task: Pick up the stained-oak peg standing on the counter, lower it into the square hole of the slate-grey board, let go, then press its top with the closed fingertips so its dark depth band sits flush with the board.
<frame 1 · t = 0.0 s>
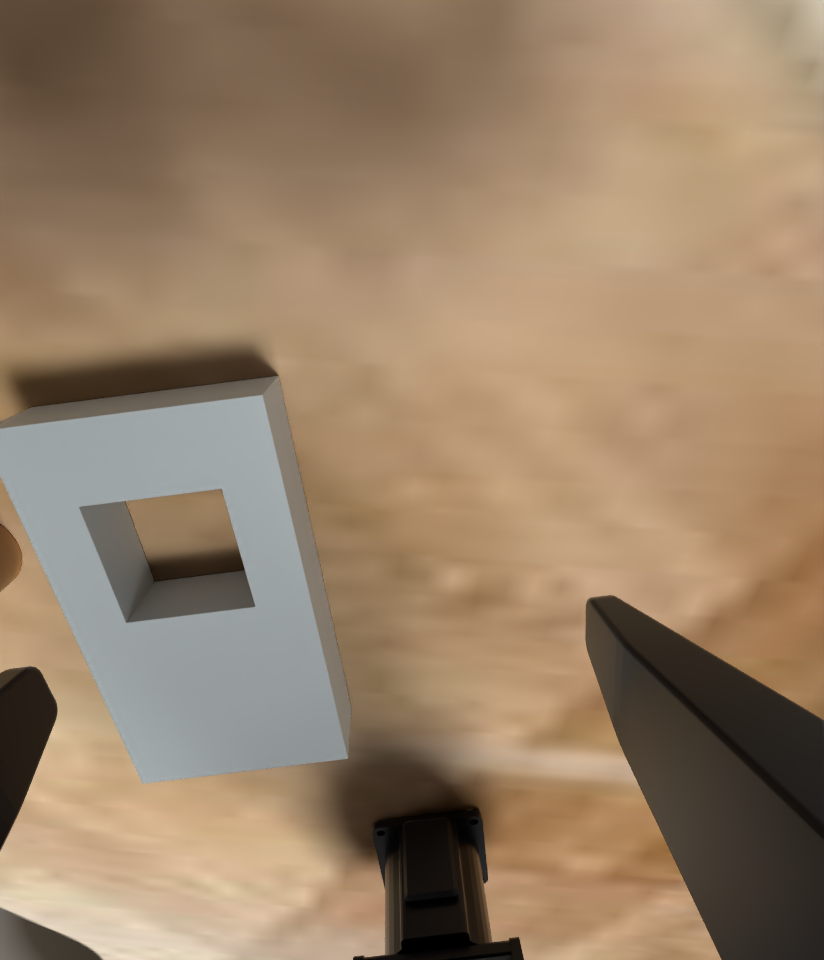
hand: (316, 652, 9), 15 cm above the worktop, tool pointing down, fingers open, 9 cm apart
board: (213, 579, 25), on the worktop
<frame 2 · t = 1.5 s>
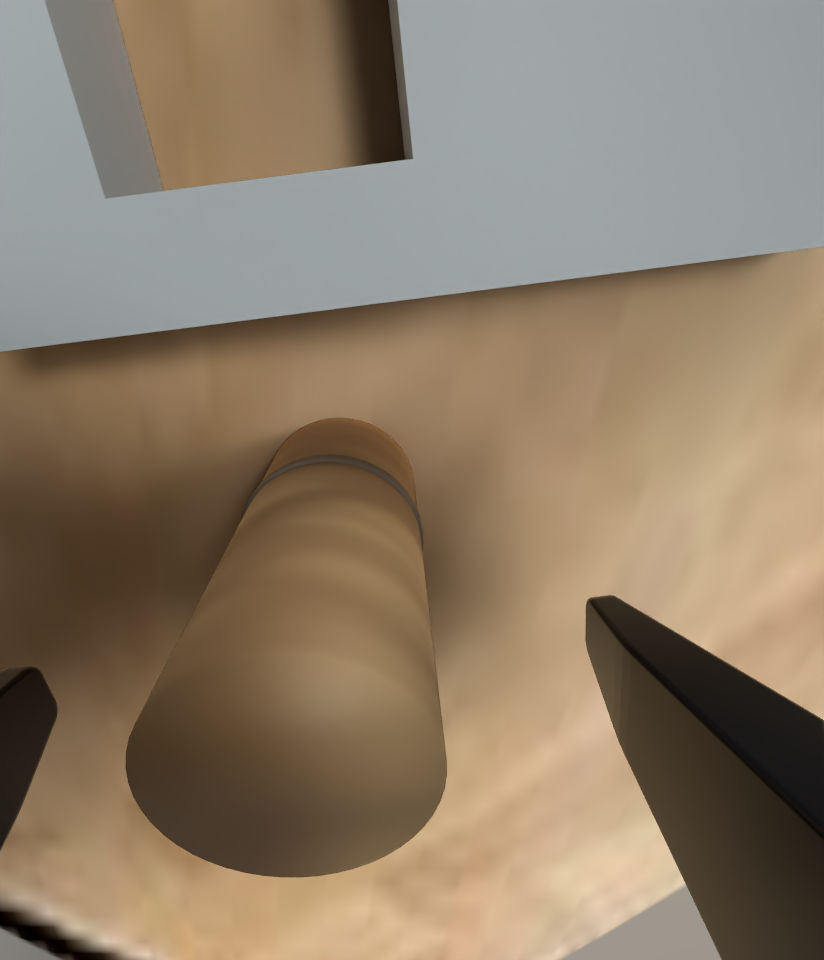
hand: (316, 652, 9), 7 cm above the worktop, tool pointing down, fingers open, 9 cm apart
board: (405, 26, 11), on the worktop
peg: (342, 487, 15), on the worktop
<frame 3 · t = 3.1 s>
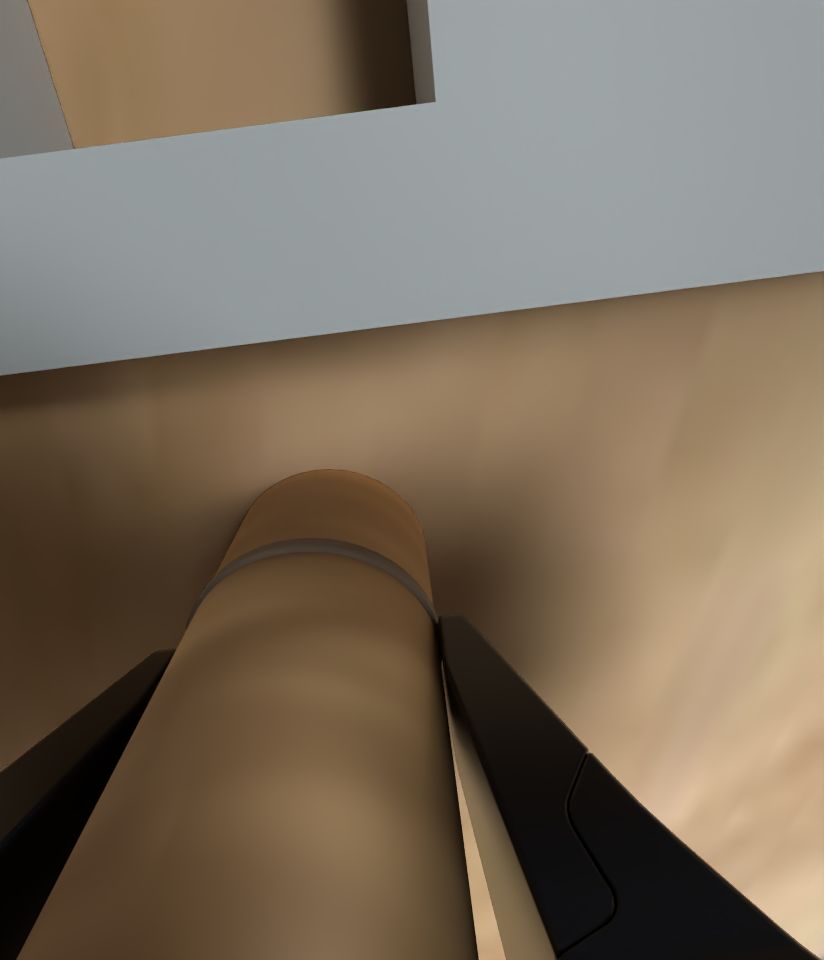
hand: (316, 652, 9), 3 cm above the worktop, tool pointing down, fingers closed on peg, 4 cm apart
peg: (332, 555, 12), on the worktop, touching gripper
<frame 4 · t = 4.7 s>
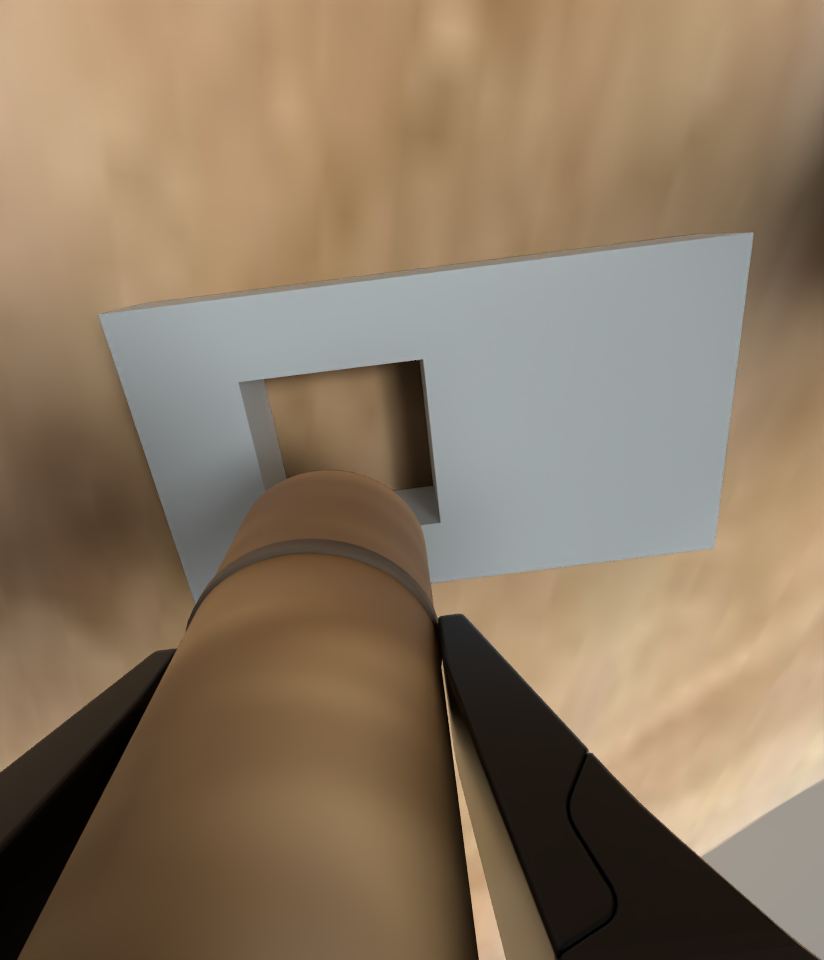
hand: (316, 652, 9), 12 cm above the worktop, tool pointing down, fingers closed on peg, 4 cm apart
board: (434, 416, 20), on the worktop
peg: (333, 556, 12), point 9 cm above the worktop, touching gripper
when the fingers open (4 cm above the worktop, at t = 6.3 s): peg drops 1 cm, resting in board.
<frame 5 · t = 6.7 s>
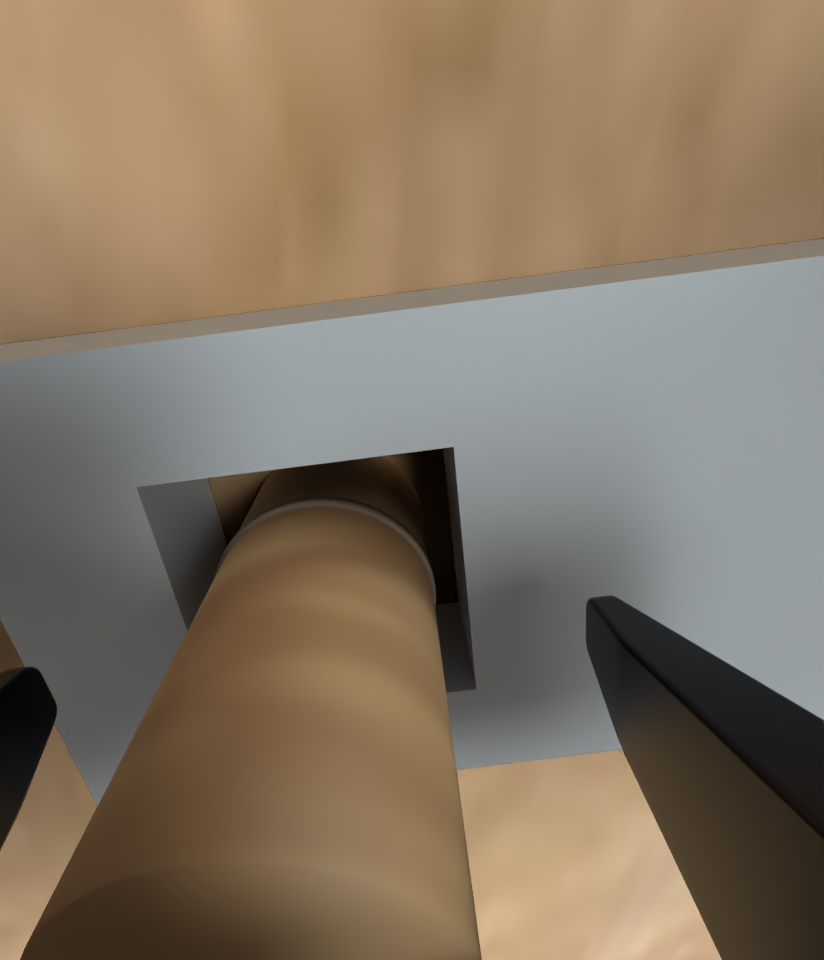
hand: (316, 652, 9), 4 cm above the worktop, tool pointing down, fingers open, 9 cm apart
board: (461, 507, 13), on the worktop
peg: (339, 523, 13), resting in board
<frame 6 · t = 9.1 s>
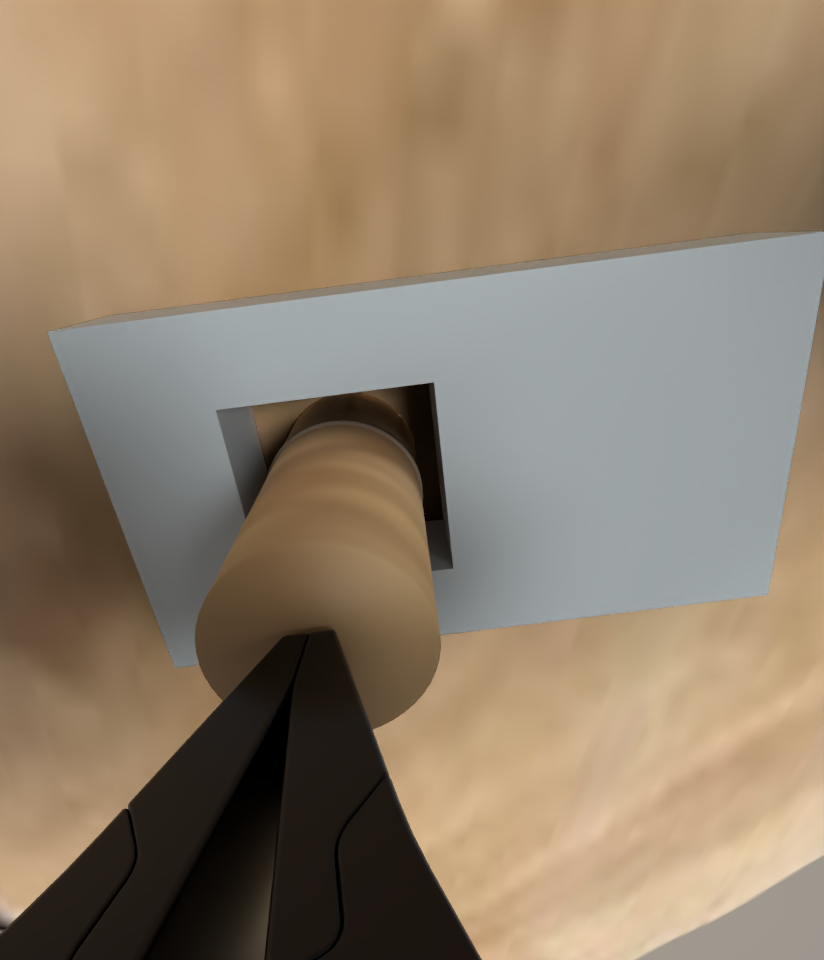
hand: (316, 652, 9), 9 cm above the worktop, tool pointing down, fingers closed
board: (444, 442, 17), on the worktop
peg: (351, 454, 17), resting in board
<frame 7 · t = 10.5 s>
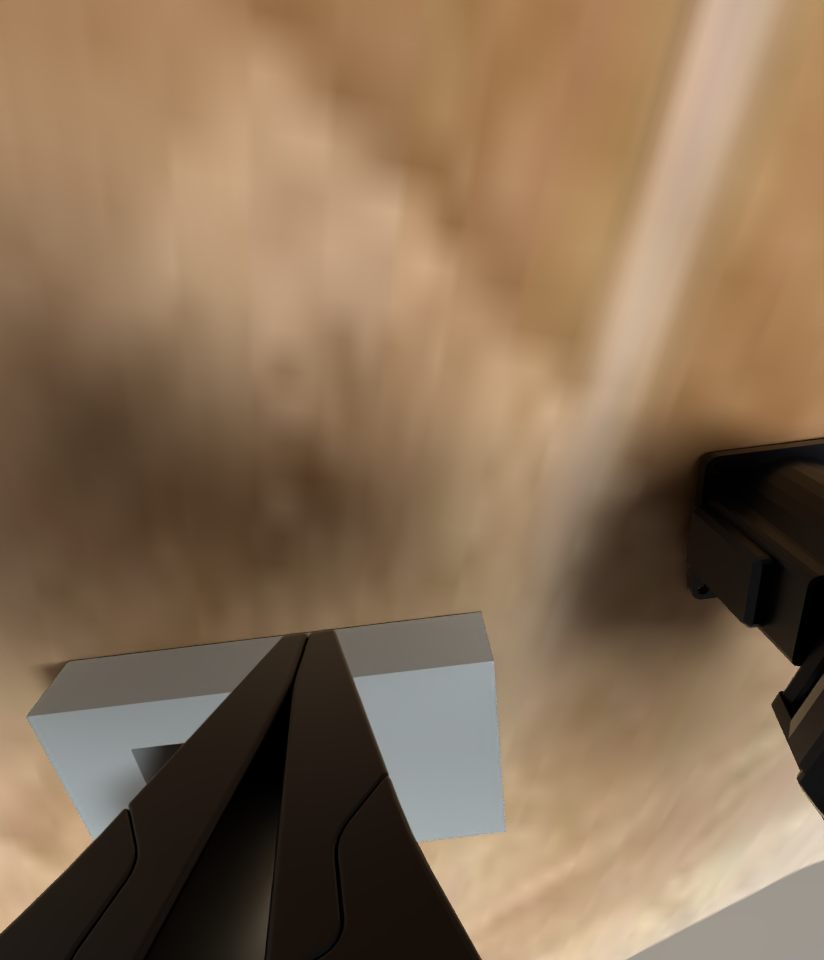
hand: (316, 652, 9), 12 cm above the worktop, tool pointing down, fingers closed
board: (297, 721, 26), on the worktop
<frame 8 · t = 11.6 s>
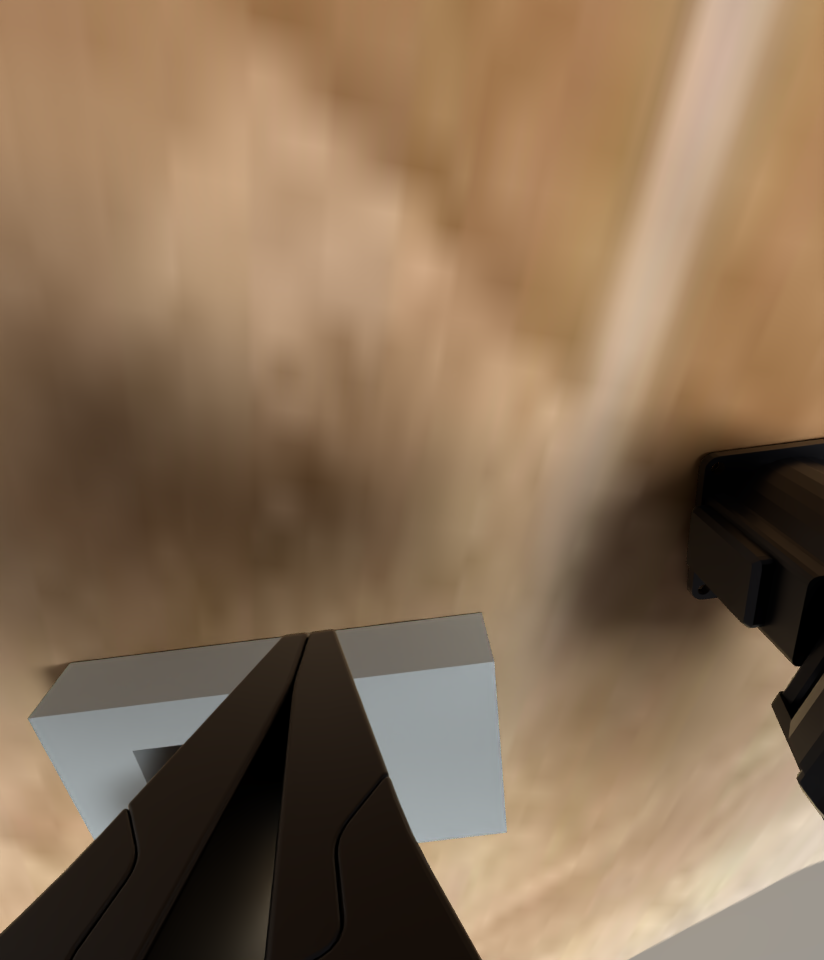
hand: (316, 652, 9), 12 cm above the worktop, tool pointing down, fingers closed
board: (298, 722, 26), on the worktop
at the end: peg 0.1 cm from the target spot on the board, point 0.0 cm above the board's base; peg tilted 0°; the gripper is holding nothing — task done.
